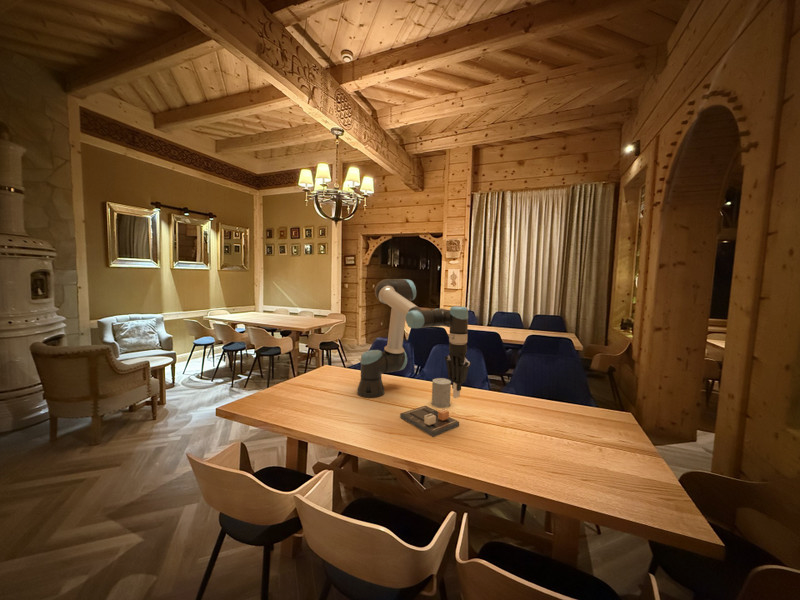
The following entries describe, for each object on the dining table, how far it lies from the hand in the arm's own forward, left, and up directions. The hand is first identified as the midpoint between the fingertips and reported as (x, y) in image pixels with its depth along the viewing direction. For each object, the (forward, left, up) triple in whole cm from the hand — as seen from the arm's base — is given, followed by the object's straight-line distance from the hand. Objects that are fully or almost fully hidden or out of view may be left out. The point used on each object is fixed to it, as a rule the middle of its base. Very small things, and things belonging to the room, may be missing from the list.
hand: (456, 397), depth 138 cm
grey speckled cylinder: (-23, +15, -15) cm, 31 cm away
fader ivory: (-8, -8, -12) cm, 16 cm away
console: (-12, -4, -15) cm, 19 cm away
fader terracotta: (-7, 0, -12) cm, 14 cm away
